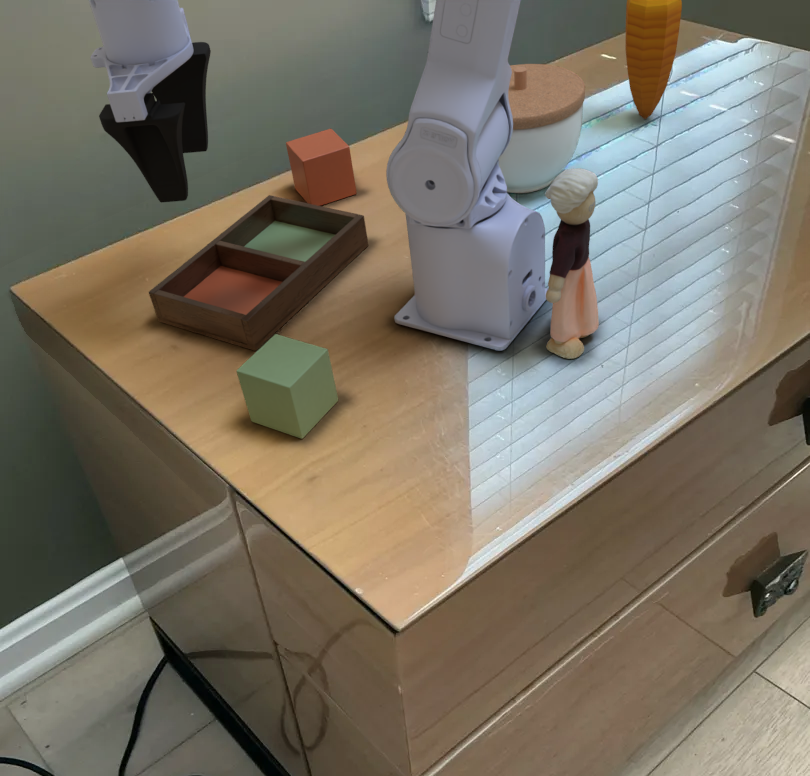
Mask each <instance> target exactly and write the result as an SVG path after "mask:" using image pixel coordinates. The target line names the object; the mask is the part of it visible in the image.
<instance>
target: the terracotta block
mask: <svg viewBox="0 0 810 776" xmlns="http://www.w3.org/2000/svg"><path fill="white" fill-rule="evenodd" d="M285 147H286V150H287V156H288V161H289V165H290V170H291V175H292V180H293V184H294V185H293V186H294V189H295V191H296V192H297V193H298V194H299V195H300V196H301V197H302V198H303V200H304V201H305V203H308V204H313V205H318V206H325V205H327V204H330V203H334V202H337V201H339V200H343V199H345V198H348V197H351V196H354V195H357V193H358V192H357V188H356V187H357V186H356V180H355V174H354V166H353V160H352V154H351V147H350V146H349V144H347V142H345V141H344V139H342V137H341V136H340V135H339V134H337V133H336V132H335V131H334V129H332V128H328V129H325V130H322V131H318V132H314V133H311V134H308V135H305V136H301V137H298V138H295V139H291V140H289V141H286V142H285Z"/></svg>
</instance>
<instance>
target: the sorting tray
mask: <svg viewBox="0 0 810 776" xmlns="http://www.w3.org/2000/svg"><path fill="white" fill-rule="evenodd" d="M367 233H368V232H367V226H366V221H365V215H363V214H358V213H354V212H350V211H346V210H341V209H337V208H336V209H335V208H332V207H328V206H327V207H326V206H323V205H321V206H318V205H313V204H308V203H307V202H304V201H298V200H294V199H290V198H285V197H280V196H275V195H271V194H269V195H268V196H265V198H263V199H262V200H261V201H260V202H259V203H257V204H256V205H255V206H254V207H252V208H251V209H250V210H249V211H247V212H246V213H245V214H243V215H242V216H241V217H240V218H238V219H237V220H236V221H235V222H234V223H233V224H231V225H230V226H228V228H226V229H225V230H224V231H222V232H221V233H220V234H219V235H217V236H216V237H215V238H213V239H212V240H211V241H210V242H209V243H207V244H206V245H205V246H203V247H202V248H201V249H200V250H199V251H197V252H196V253H195V254H194V255H192V256H191V257H190V258H189V259H187V260H186V261H185V262H184V263H183V264H181V265H180V266H178V268H176V269H175V270H174V271H173V272H171V273H170V274H168V275H167V276H166V277H165V278H164V279H163V280H161V281H160V282H159V283H158V284H156V285H155V286H154V287H153V288H152V289H150V290H149V291H148V295H149V297H150V301H151V303H152V306H153V309H154V312H155V315H156V317H157V320H158V322H159V323H163V324H165V325H169V326H172V327H174V328H175V327H176V328H179V329H182V330H185V331H189V332H192V333H195V334H198V335H202V336H204V337H205V336H206V337H207V338H208V337H209V338H211V339H215V340H218V341H222V342H225V343H228V344H231V345H234V346H238V347H241V348H244V349H248V350H252V351H255V352H257V351H258V350H259V349H260V348H261V347H262V346H263V345H264V344H265V343H266V342H267V341H268V340H269V339H271V338H272V337H273V336H274V335H275V334H276V333H277V332H278V331H279V330H280V329H281V328H282V327H283V326H284V325H286V324H287V322H288V321H290V320H291V319H292V318H293V317H294V316H295V315H296V314H297V313H298V312H299V311H300V310H301V309H302V308H304V306H305V305H306V304H308V303H309V302H310V301H311V300H312V299H313V298H314V297H315V296H316V295H317V294H318V293H319V292H321V291H322V289H324V288H325V287H326V286H327V285H328V284H329V283H330V282H331V281H332V280H333V279H335V277H337V276H338V274H339V273H341V272H342V271H343V270H345V268H346V267H347V266H348V265H349V264H350V263H352V261H354V259H356V258H357V257H358V256H359V255H360V254H361V253H362V252H364V250H366V248H367V247H369V240H368V234H367Z"/></svg>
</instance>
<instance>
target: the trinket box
mask: <svg viewBox="0 0 810 776" xmlns="http://www.w3.org/2000/svg"><path fill="white" fill-rule="evenodd" d="M509 65H510V64H509ZM510 67H511V70H512V75H511V79H510V84H509V90H508V99H509V105H510V109H511V113H512V117H513V132H512V136H511V140H510V142H509V144H508V146H507V148H506V149H505V151H504V152H503V154H502V155H501V156H500V157H499V158H498V159H499V167H500V169H501V171H502V174H503V176H504V179H505V183H506V185H507V193H508V194H509V193H510V194H526V193H527V194H528V193H533V192H537V191H540V190H543V189H544V188H547V187H548V186H550V185H551V184H552V183H553V181H554V179H555V178H556V177H557V176H558V175H559V174H560V173H562V172H563V171H564V169H565V168H566V167H567V166H568V164H569V163H570V161H571V160H572V158H573V157H574V154H575V153H576V150H577V148H578V144H579V141H580V138H581V134H582V133H581V132H582V127H583V117H584V116H583V115H584V103H585V98H586V85H585V82H584V80H583V78H582V77H581V76H579V75H578V74H577V73H576V72H574V71H572V70H570V69H567V68H565V67H561V66H558V65H552V64H543V63H522V64H521V63H520V64H511V65H510Z"/></svg>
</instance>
